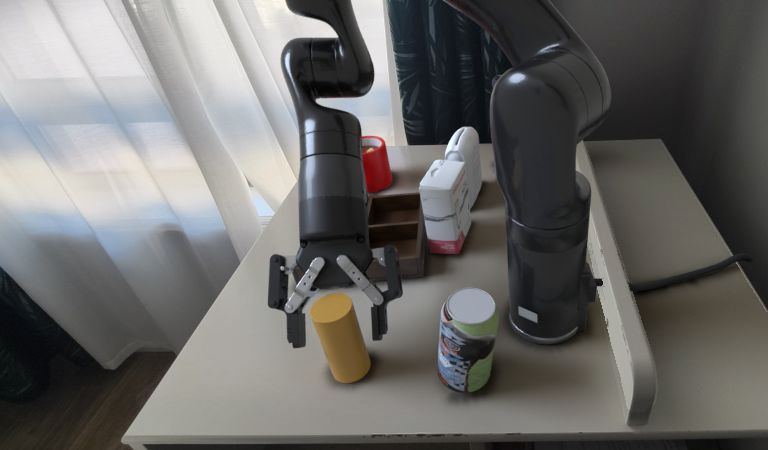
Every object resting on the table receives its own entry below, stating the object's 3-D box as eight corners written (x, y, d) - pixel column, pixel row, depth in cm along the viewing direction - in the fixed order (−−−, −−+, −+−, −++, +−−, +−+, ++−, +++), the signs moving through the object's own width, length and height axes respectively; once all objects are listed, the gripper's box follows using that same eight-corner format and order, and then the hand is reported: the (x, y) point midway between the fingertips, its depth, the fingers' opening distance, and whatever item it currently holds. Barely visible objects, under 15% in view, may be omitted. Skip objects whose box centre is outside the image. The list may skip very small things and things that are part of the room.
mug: (343, 206, 87) (332, 167, 82) (353, 173, 97) (344, 137, 92) (388, 203, 87) (380, 164, 83) (394, 170, 97) (387, 133, 92)
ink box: (458, 256, 74) (450, 189, 67) (427, 253, 75) (416, 187, 68) (472, 223, 81) (466, 159, 74) (444, 221, 82) (435, 157, 75)
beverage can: (442, 354, 59) (430, 280, 52) (503, 354, 59) (499, 279, 52) (435, 400, 54) (420, 324, 47) (502, 400, 53) (497, 323, 46)
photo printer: (462, 181, 92) (456, 119, 85) (484, 182, 92) (480, 120, 84) (447, 211, 84) (439, 146, 77) (471, 213, 83) (465, 147, 76)
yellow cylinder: (372, 351, 60) (355, 291, 54) (368, 381, 56) (348, 320, 50) (336, 354, 60) (314, 294, 54) (329, 385, 56) (305, 324, 50)
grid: (426, 209, 85) (424, 191, 83) (423, 277, 71) (419, 257, 68) (323, 218, 84) (317, 200, 82) (297, 288, 70) (290, 269, 68)
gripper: (255, 198, 52) (257, 353, 50) (389, 188, 53) (398, 340, 51) (283, 212, 60) (286, 347, 57) (400, 202, 61) (408, 336, 58)
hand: (338, 344), depth 54 cm, fingers open, 8 cm apart
